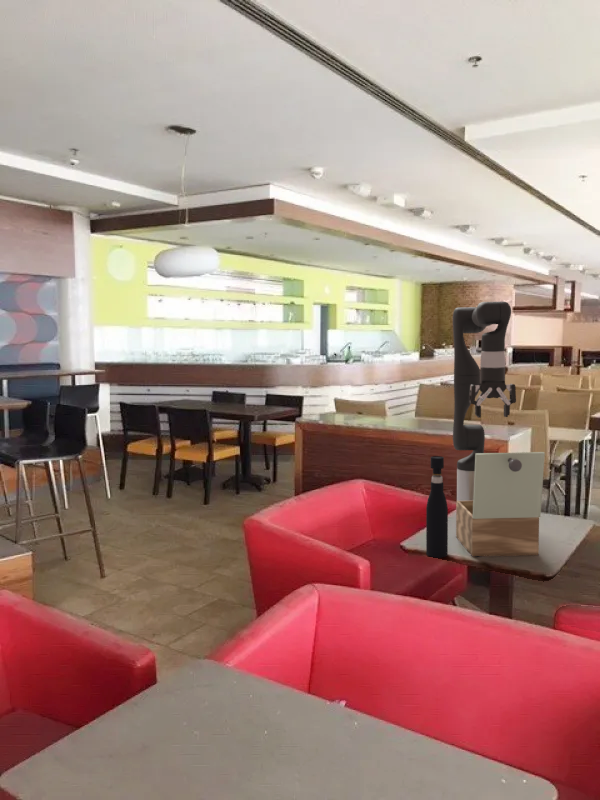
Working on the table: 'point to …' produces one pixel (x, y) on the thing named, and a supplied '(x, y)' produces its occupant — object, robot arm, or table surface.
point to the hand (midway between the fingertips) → (492, 417)
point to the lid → (508, 485)
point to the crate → (496, 533)
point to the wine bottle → (437, 513)
